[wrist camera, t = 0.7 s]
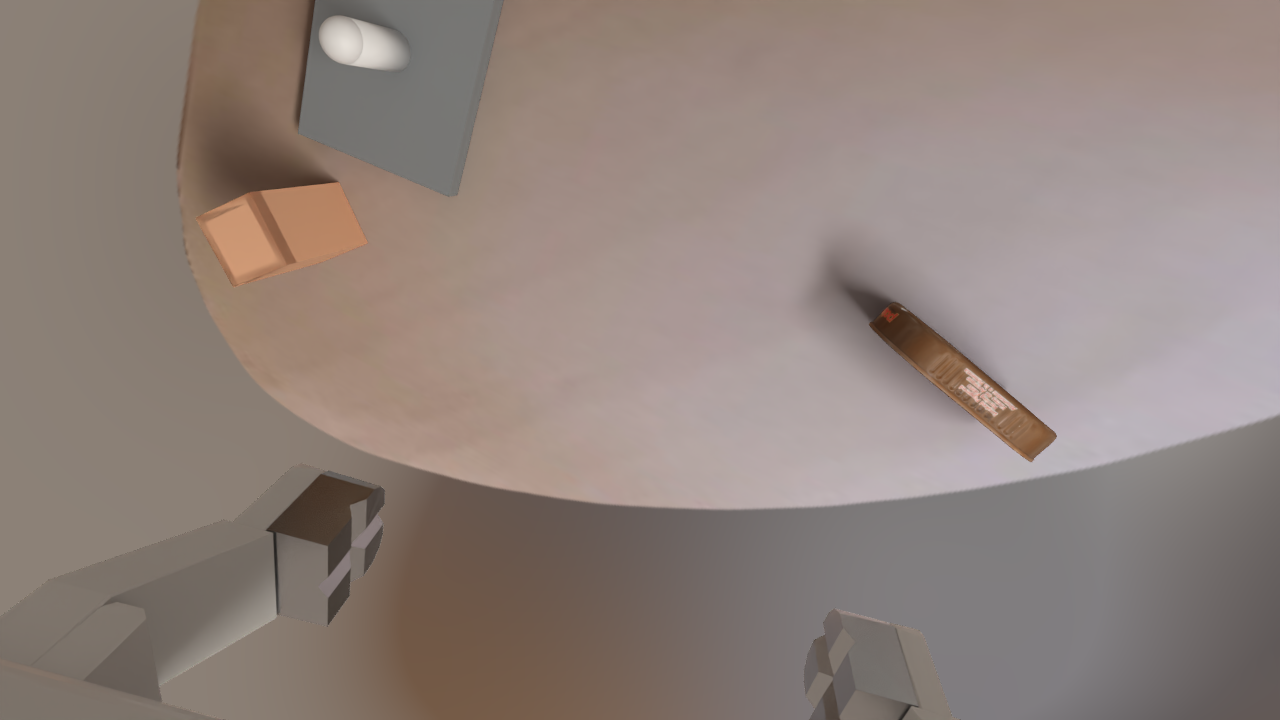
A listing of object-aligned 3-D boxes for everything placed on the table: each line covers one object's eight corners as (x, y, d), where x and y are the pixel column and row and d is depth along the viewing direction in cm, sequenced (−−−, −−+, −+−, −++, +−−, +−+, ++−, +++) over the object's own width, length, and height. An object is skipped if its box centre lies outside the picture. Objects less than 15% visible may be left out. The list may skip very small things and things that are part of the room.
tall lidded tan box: (290, 204, 56) (195, 217, 47) (338, 182, 55) (249, 192, 45) (320, 262, 58) (233, 287, 48) (368, 243, 56) (287, 264, 47)
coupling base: (343, -107, 47) (249, -160, 38) (513, -41, 46) (454, -80, 37) (310, 133, 54) (224, 133, 45) (457, 195, 53) (397, 206, 44)
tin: (859, 314, 49) (874, 347, 42) (889, 284, 48) (911, 313, 40) (1002, 431, 50) (1043, 486, 42) (1035, 405, 49) (1083, 456, 41)
